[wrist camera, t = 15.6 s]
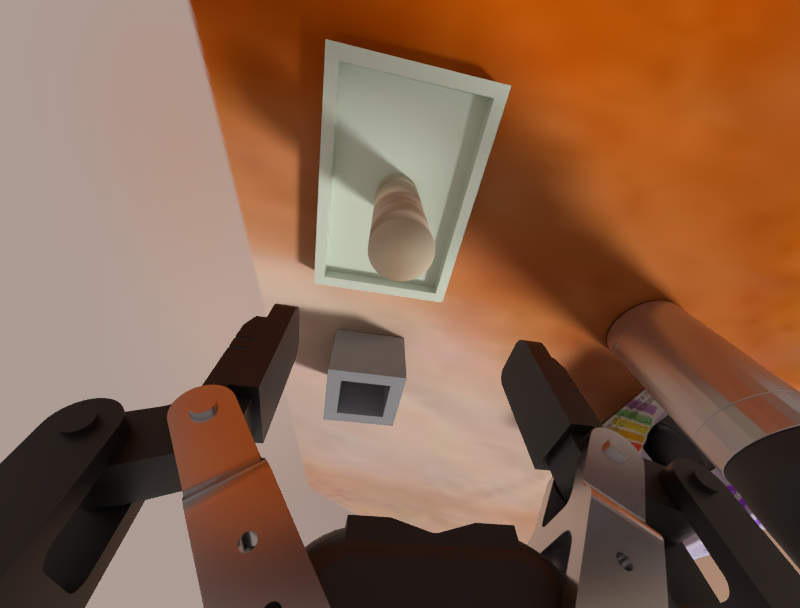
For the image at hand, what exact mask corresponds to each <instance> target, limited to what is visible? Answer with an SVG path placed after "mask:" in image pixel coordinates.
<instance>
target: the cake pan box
mask: <svg viewBox="0 0 800 608" xmlns="http://www.w3.org/2000/svg"><path fill="white" fill-rule="evenodd" d="M602 426H603V428H607V429H610V430H612V431H615V432H617V433H618V434H620V435H622V436H623V437H624V438H626V439H627V440H628V441H629V442H630V443H631V444H632V445H633V446H634V447H635V448H636V449H637V450H638V452H639V453H640V455H641V456H642V457H643V458H645V459H648V460H650V461H653V462H656V463H658V464H661V465H663V466H666V467H667V466H668V465H669V464H670V463H671V462H673V461H674V460H675V459H677V458H685V459H689V460H692V461H694V462H696V463H698V464H700V465H702V466H703V467H705V468H706V469H708V470H709V471H710V472H712V473H713V474H714V475H715V476H717V477H718V478H719V479H720V480H721V481H722V482H723V483H724V484H725V486H726V487H727V488H728V489H729V490H730V491H731V493H732V494H733V495H734V496H735V498H736V499H737V500H738V501H739V502H740V504H741V505H742V506H743V507H744V508H745V510H746V511H747V512H748V513H749V514H750V516H751V517H752V518H753V519H754V520H755V522H756V523H757V524H758V525H759V526H760V528H761V529H762V530H764V529H765V528H764V527H763V525H762V524H761V523H760V522H759V521H758V519H757V518H756V517H755V516H754V514H753V513H752V512H751V510H750V509H749V507H748V506H747V504H746V503H745V501H744V500H743V498H742V497H741V495H740V494H739V493H738V492H737V491H736V489H735V488H734V487H733V486H732V485H731V484H730V483H729V482H728V480H727V479H726V478H725V477H724V476H723V475H722V474H721V473H720V472H719V470H718V469H717V468H716V467H715V466H714V465H713V464H712V463H711V461H710V460H709V459H708V458H707V457H706V456H705V455H704V454H703V453H702V451H701V450H700V449H699V448H698V447H697V446H696V445H695V444H694V443H693V442H692V441H691V439H690V438H689V437H688V436H687V435H686V434H685V433H684V432H683V430H682V429H681V428H680V427H679V426H678V425H677V424H676V423H675V422H674V420H673V419H672V418H671V417H670V416H669V415H668V414H667V413H666V412H665V410H664V409H663V408H662V407H661V406H660V405H659V404H658V403H657V402H656V400H655V399H654V398H653V397H652V396H651V395H650V394H649V393H648V391H647V390H646V389H645V390H644V391H642V392H641V393H640V394H639V395H638V396H636V397H635V398H634V399H633V400H632V401H630V402H629V403H628V404H627V405H626V406H624V407H623V408H622V409H621V410H620V411H618V412H617V413H616V414H615V415H614V416H612V417H611V418H610V419H609V420H608V421H606V422H605V423H604V424H603V425H602ZM682 542H683V544H684V545H685V547H686V549H687V550H688V552H689V553H690V555H691V557H692V558H693V560H695V559H697V558H700V557H705V556H708V555H710V554H709V552H708V551H707V549H706V548H705V546H704V545H703V543H702V542H701V540H700V539H699V537H698V536H697V534H696V533H695V534H694V535H692V536H691V537H689V538H687V539H686V540H684V541H682Z"/></svg>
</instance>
